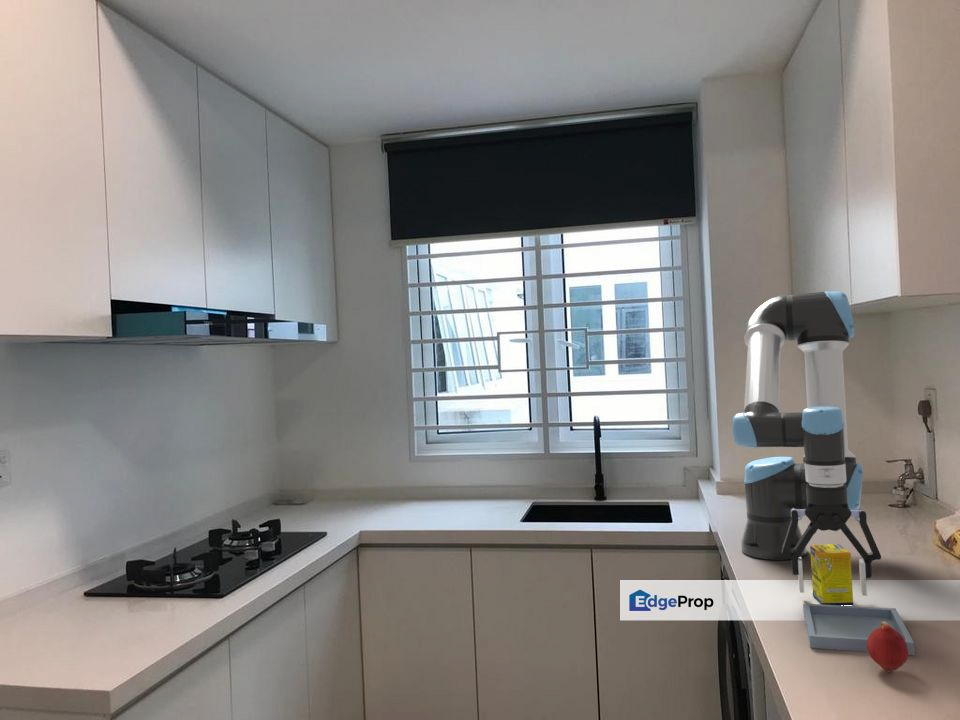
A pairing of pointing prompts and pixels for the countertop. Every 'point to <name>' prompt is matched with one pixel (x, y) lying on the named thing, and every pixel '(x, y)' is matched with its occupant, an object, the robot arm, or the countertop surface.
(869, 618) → the slate tray
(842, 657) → the countertop surface
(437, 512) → the countertop surface
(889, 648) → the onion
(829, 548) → the supplement box
